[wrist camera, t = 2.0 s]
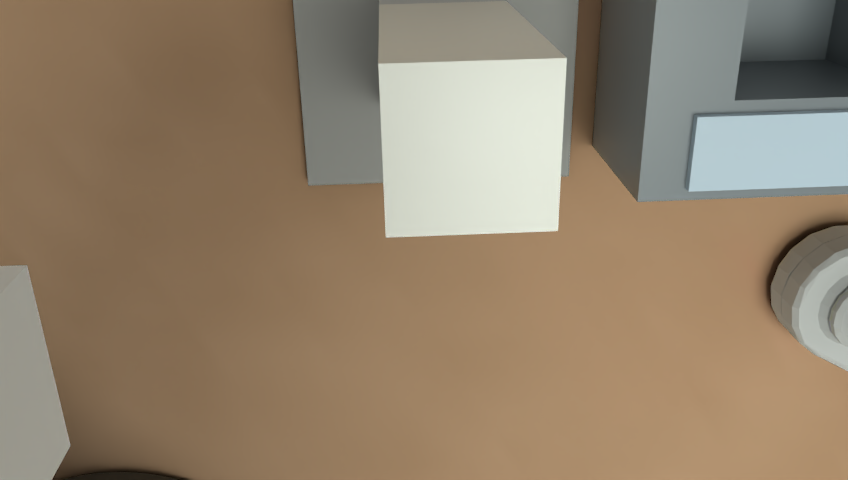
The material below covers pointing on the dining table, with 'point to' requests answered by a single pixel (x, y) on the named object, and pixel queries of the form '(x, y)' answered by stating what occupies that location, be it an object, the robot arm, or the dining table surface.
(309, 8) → the mat
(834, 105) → the dock
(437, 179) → the plug
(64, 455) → the robot arm
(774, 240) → the dining table surface
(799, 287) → the electronic device
